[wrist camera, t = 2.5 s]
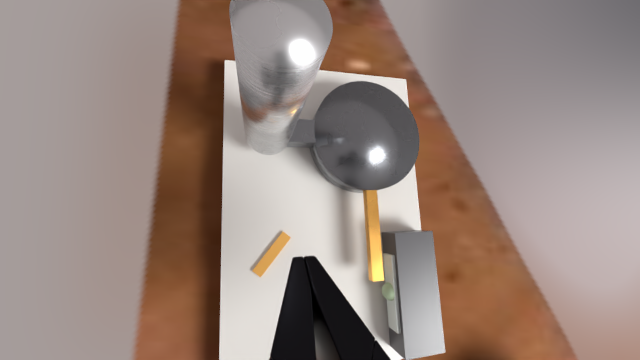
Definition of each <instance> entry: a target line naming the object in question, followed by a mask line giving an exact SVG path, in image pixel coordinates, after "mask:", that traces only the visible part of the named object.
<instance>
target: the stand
mask: <svg viewBox="0 0 640 360" xmlns="http://www.w3.org/2000/svg"><path fill="white" fill-rule="evenodd" d="M354 81H367V82H373V83H376V84H379V85H382V86H384V87H386V88H388V89H389V90H391V91H392V92H394V93H395V94H396V95H398V96H399V97H400V98H401V99H402V100H403V101H404V103H405V104H406V105H407V106H408V108H409V105H408V95H407V85H406V79H398V78H388V77H379V76H370V75H360V74H351V73H342V72H332V71H323V70H318V73H317V75H316V77H315V80H314V82H313V85H312V87H311V90H310V92H309V95H308V97H307V99H306V102H305V104H304V107H303V109H302V112H301V114H300V117H299V119H309V120H312V119H313V117H314V115H315V113H316V112H317V110H318V108H319V106H320V104H321V103H322V101H323V100H324V98H325V97H326V96H327V95H328V94H329V93H330V92H331V91H332V90H334V89H335V88H337V87H339V86H340V85H343V84H345V83H349V82H354ZM377 196H378V209H379V222H380V235H381V248H382V262H383V275H384V280H383V281H374V282H373V281H371V280H369V273H368V259H367V244H366V229H365V214H364V199H363V193H354V192H349V191H346V190H343V189H341V188H339V187H337V186H335V185H334V184H332V183H331V182H330V181H328V180H327V179H326V178H325V177H324V176H323V175H322V174H321V172H320V171H319V170H318V168H317V167H316V165H315V163H314V161H313V159H312V156H311V153H310V149H309V148H302V147H286V148H285V149H284V150H283V151H281V152H279V153H277V154H274V155H264V154H261V153H258V152H256V151H255V150H253V149H252V148H251V147H250V146H249V144H248V143H247V141H246V138H245V131H244V124H243V116H242V108H241V100H240V92H239V84H238V76H237V69H236V61H229V60H225V73H224V128H223V182H222V236H221V291H220V345H219V360H269V358H270V353H271V349H272V344H273V340H274V336H275V331H276V327H277V323H278V318H279V314H280V310H281V305H282V301H283V297H284V292H285V288H286V283H287V279H288V275H289V270H290V266H291V262H292V258H293V257H299V256H302V257H305V256H315V257H316V258H317V259H318V260H319V262H320V263H321V265H322V266H323V267H324V269H325V270H326V271H327V273H328V274H329V276H330V277H331V278H332V280H333V281H334V282H335V284H336V285H337V287H338V288H339V289H340V291H341V292H342V293H343V295H344V296H345V298H346V299H347V300H348V302H349V303H350V304H351V306H352V307H353V309H354V310H355V311H356V313H357V314H358V315H359V317H360V318H361V320H362V321H363V322H364V324H365V325H366V326H367V328H368V329H369V331H370V332H371V333H372V335H373V336H374V337H375V340H377V341H378V343H379V344H380V346H381V347H382V348H383V350H384V351H385V352H386V354H387V355H388V356H389V358H390V359H391V360H400V359H405V360H410V359H415V358H420V357H425V356H430V355H435V354H440V353H445V344H444V335H443V325H442V316H441V307H440V297H439V288H438V279H437V270H436V260H435V251H434V242H433V232H432V231H421V224H420V214H419V204H418V194H417V184H416V174H415V164H414V166H413V168H412V169H411V171H410V172H409V173H408V174H407V176H406V177H405V178H404V179H402V180H401V181H400V182H398V183H397V184H395V185H393V186H390V187H388V188H384V189H381V190H377Z"/></svg>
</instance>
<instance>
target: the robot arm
mask: <svg viewBox="0 0 640 360" xmlns="http://www.w3.org/2000/svg"><path fill="white" fill-rule="evenodd" d="M269 360H391V359H390V358H389V356H388V355H387V354H386V352H385V351H384V350H383V348H382V347H381V346H380V344H379V343H378V341H377V340H375V337H374V336H373V335H372V333H371V332H370V331H369V329H368V328H367V326H366V325H365V324H364V322H363V321H362V320H361V318H360V317H359V315H358V314H357V313H356V311H355V310H354V309H353V307H352V306H351V304H350V303H349V302H348V300H347V299H346V298H345V296H344V295H343V293H342V292H341V291H340V289H339V288H338V287H337V285H336V284H335V282H334V281H333V280H332V278H331V277H330V276H329V274H328V273H327V271H326V270H325V269H324V267H323V266H322V265H321V263H320V262H319V260H318V259H317V258H316V257H315V256H305V257H302V256H299V257H293V258H292V262H291V266H290V270H289V275H288V279H287V283H286V288H285V292H284V297H283V301H282V305H281V310H280V314H279V318H278V323H277V327H276V331H275V336H274V340H273V344H272V349H271V353H270V358H269Z"/></svg>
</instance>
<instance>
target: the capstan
mask: <svg viewBox="0 0 640 360" xmlns="http://www.w3.org/2000/svg"><path fill="white" fill-rule="evenodd" d="M229 11H230V22H231V29H232V37H233V45H234V53H235V61H236V69H237V76H238V84H239V92H240V100H241V108H242V116H243V124H244V131H245V138H246V141H247V143H248V144H249V146H250V147H251V148H252V149H253V150H255V151H256V152H258V153H261V154H264V155H274V154H277V153H279V152H281V151H283V150H284V149H285V148H286V147H302V148H309V149H310V153H311V156H312V159H313V161H314V163H315V165H316V167H317V168H318V170H319V171H320V172H321V174H322V175H323V176H324V177H325V178H326V179H327V180H328V181H330V182H331V183H332V184H334V185H335V186H337V187H339V188H341V189H343V190H346V191H349V192H354V193H363V199H364V214H365V229H366V244H367V259H368V273H369V280H371V281H373V282H374V281H383V280H384V275H383V262H382V248H381V235H380V222H379V209H378V196H377V190H381V189H384V188H388V187H390V186H393V185H395V184H397V183H398V182H400V181H401V180H402V179H404V178H405V177H406V176H407V174H408V173H409V172H410V171H411V169H412V168H413V166H414V164H415V162H416V159H417V156H418V151H419V133H418V128H417V124H416V121H415V119H414V117H413V115H412V113H411V111H410V109H409V108H408V106H407V105H406V104H405V103H404V101H403V100H402V99H401V98H400V97H399V96H398V95H396V94H395V93H394V92H392V91H391V90H389V89H388V88H386V87H384V86H382V85H379V84H376V83H373V82H367V81H354V82H349V83H345V84H343V85H340V86H339V87H337V88H335V89H334V90H332V91H331V92H330V93H329V94H328V95H327V96H326V97H325V98H324V100H323V101H322V103H321V104H320V106H319V108H318V110H317V112H316V113H315V115H314V117H313V119H312V120H309V119H299V117H300V114H301V112H302V109H303V107H304V104H305V102H306V99H307V97H308V95H309V92H310V90H311V87H312V85H313V82H314V80H315V77H316V75H317V73H318V70H319V68H320V65H321V63H322V60H323V58H324V56H325V53H326V51H327V48H328V46H329V43H330V41H331V37H332V31H333V25H332V19H331V15H330V12H329V10H328V8H327V6H326V4H325V2H324V1H323V0H231V3H230V10H229Z"/></svg>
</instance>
